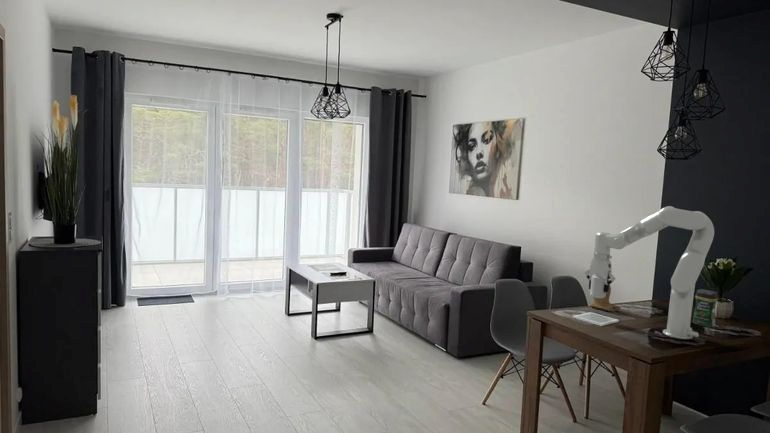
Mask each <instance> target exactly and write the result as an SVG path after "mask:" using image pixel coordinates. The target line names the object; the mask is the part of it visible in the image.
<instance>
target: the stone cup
mask: <svg viewBox="0 0 770 433" xmlns="http://www.w3.org/2000/svg"><path fill="white" fill-rule="evenodd" d="M611 292H612V288H611V284H610V285H609V290H608V292H606V296H605V297H604V298H595V297H592V298H593V301H592V302H591V303H589V306H590V307H593V308H596V309H600V310H604V311H609V312H617V311H618V312H619V311H620V310H621V309H622V307H621V306H620V305H617V304H612V303H611V302H610V296H611V294H612V293H611Z"/></svg>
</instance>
